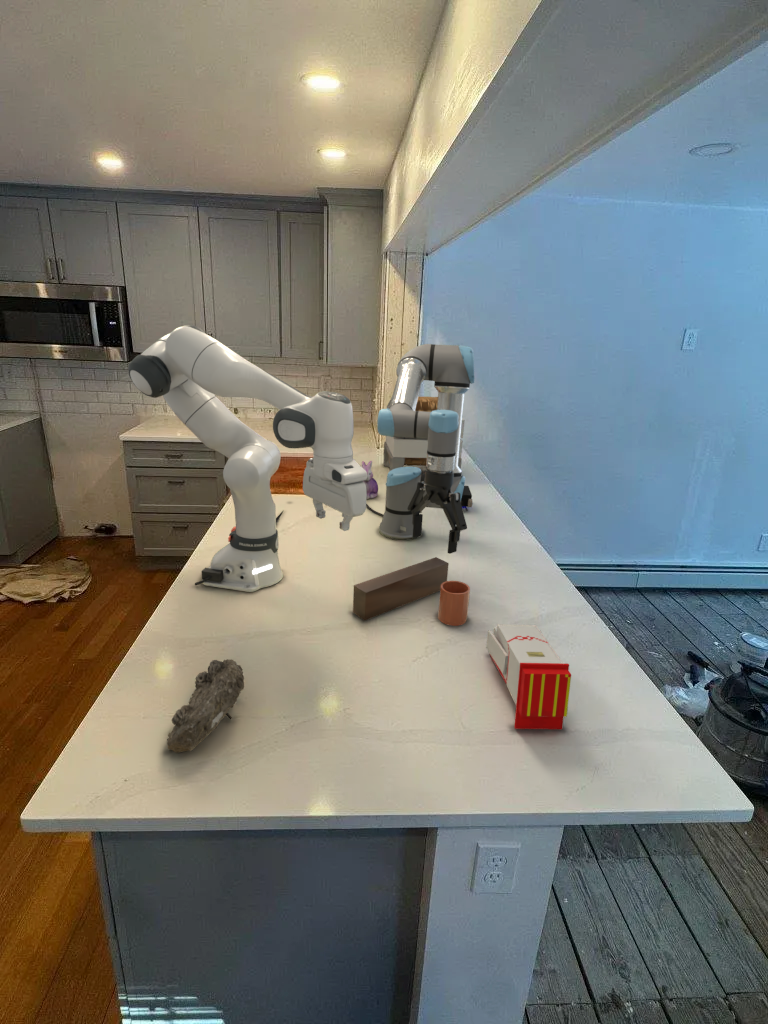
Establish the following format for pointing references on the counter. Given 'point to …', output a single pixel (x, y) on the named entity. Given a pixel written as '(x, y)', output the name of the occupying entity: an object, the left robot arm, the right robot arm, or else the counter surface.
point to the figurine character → (466, 498)
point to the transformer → (412, 442)
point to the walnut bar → (398, 588)
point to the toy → (531, 675)
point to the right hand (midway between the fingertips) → (433, 544)
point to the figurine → (370, 481)
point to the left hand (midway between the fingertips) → (332, 523)
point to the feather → (278, 517)
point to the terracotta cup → (453, 603)
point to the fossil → (206, 705)
